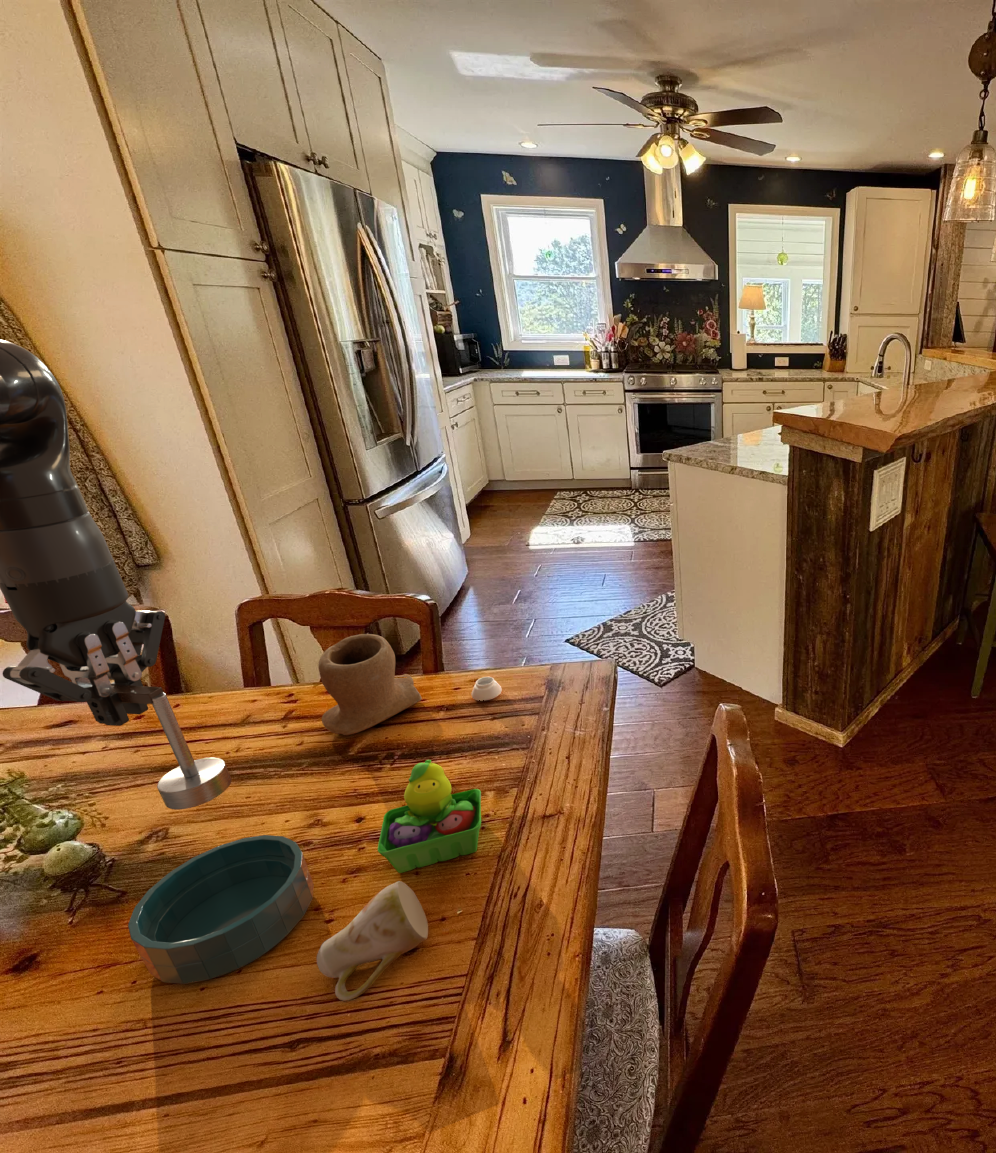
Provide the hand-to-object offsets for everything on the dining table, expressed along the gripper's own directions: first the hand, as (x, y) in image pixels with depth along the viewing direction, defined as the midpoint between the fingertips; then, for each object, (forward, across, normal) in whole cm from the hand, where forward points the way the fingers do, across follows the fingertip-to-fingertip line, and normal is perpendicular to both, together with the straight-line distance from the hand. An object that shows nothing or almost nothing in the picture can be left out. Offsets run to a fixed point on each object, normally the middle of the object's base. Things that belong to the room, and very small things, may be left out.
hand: (126, 717), depth 64 cm
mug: (+25, +7, +26) cm, 37 cm away
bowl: (+24, +5, +8) cm, 26 cm away
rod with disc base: (+10, 0, +1) cm, 10 cm away
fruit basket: (+25, -8, +24) cm, 36 cm away
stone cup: (+25, -34, -1) cm, 42 cm away
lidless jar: (+25, -42, +14) cm, 51 cm away
